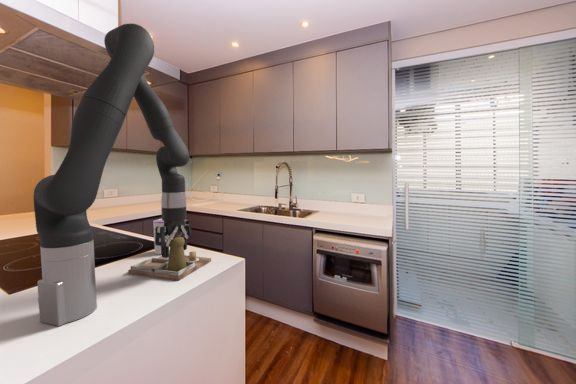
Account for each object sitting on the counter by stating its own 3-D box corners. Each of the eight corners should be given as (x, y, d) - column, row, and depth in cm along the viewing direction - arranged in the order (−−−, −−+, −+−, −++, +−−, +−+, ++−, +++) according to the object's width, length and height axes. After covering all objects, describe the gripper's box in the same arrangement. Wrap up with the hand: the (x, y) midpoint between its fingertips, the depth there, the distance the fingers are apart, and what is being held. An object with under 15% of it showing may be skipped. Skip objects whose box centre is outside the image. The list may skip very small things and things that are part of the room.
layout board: (178, 280, 76) (178, 267, 76) (128, 273, 81) (127, 261, 81) (211, 261, 93) (210, 250, 93) (167, 256, 98) (167, 246, 98)
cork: (181, 264, 87) (181, 233, 86) (190, 268, 83) (189, 236, 82) (164, 268, 82) (163, 237, 81) (172, 273, 78) (171, 240, 77)
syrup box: (166, 254, 100) (165, 220, 99) (154, 254, 101) (153, 219, 100) (175, 250, 106) (174, 218, 105) (163, 250, 107) (162, 217, 106)
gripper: (167, 208, 73) (168, 261, 74) (197, 203, 86) (197, 248, 87) (147, 207, 75) (148, 259, 76) (179, 203, 88) (180, 246, 89)
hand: (175, 253), depth 81 cm, fingers open, 8 cm apart
